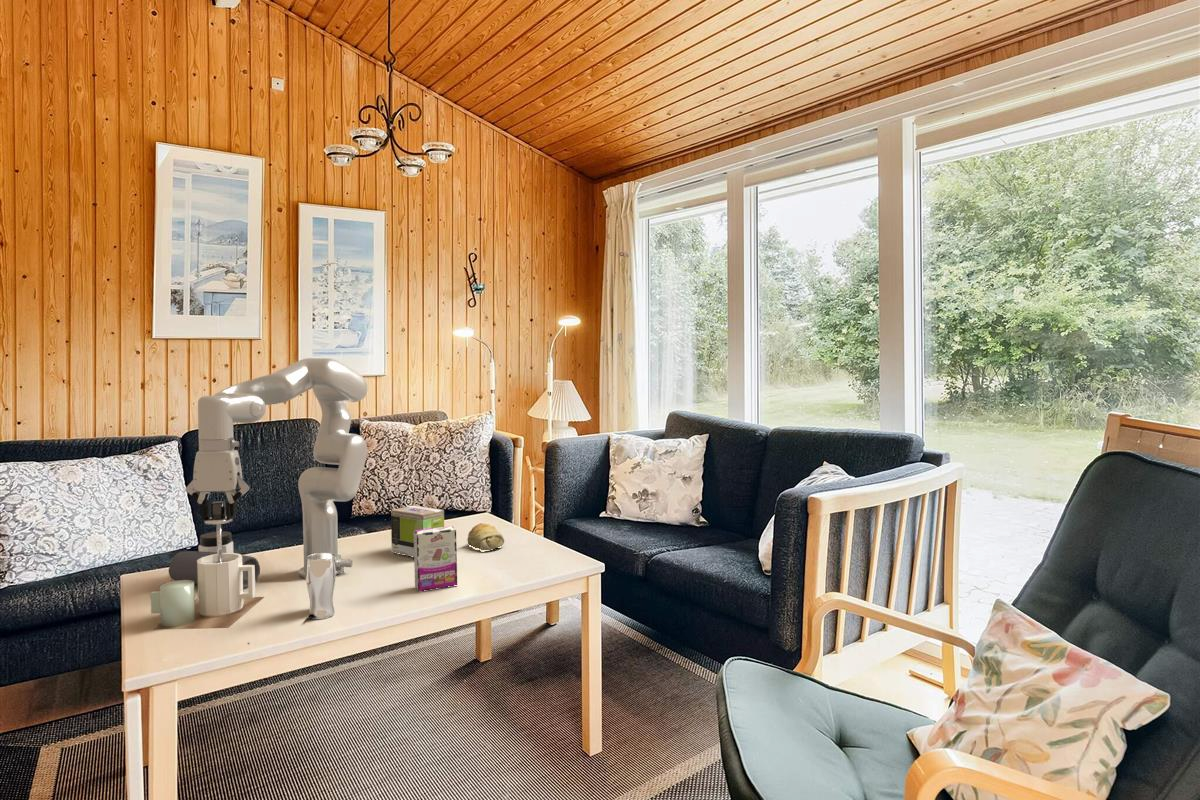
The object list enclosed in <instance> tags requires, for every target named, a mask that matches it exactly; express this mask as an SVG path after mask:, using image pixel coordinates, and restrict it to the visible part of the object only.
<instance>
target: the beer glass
mask: <svg viewBox="0 0 1200 800" xmlns="http://www.w3.org/2000/svg"><path fill="white" fill-rule="evenodd" d="M336 576H337V575H336V566H335V555H334V554H333V553H327V552H324V553H315V554H311V555H309V556H307V557H306V578H305V583H306V588H307V592H308V598H309V609H308V613H309V614H308V618H309V619H310V620H325V619H328V618H332V617H333V616H334V615H335V607H334V601H333V600H334V598H333V596H334V590H335V585H336V584H335V583H336Z"/></svg>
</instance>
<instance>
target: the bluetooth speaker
mask: <svg viewBox="0 0 1200 800" xmlns="http://www.w3.org/2000/svg"><path fill="white" fill-rule="evenodd" d="M214 554H217V552H202V551H199V550H198V551H194V550H187V551H186V550H185V551H179V552H177V553H175V555H174V556H172V559H171V560H170V563H169V567H168V576H169V578H170V579H171V580H172V581H178V580H191V581H194V586H198V581H197V560H198V559H200V558H202V557H205V556H209V555H214ZM241 555H242V554H241ZM242 565H255V583H256V582H257V580H258V579H259V577H260V573H261V567H260V563H259V560H257V558H256V557H253V556H251V555H242ZM243 589H248V571H243Z"/></svg>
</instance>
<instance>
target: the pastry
mask: <svg viewBox="0 0 1200 800" xmlns="http://www.w3.org/2000/svg"><path fill="white" fill-rule="evenodd" d="M466 541H467V545H468V544H469V545H471V546H473V547H475V548H479V549H481V550H491V549H495V548H498V547H500V546H502V545H503V546H504V544H505V538H504V536H503V534H502V533H501V532H499V530H498V529H497V528H496V527H495V526H493V525H491V524H489V523H478V524H477V525H475V526H473V527H472V528H471V530H470V531H469V532H468V535H467V540H466ZM469 545H468V546H469ZM495 550H496V549H495Z"/></svg>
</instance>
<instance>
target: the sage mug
mask: <svg viewBox="0 0 1200 800" xmlns="http://www.w3.org/2000/svg"><path fill="white" fill-rule="evenodd" d="M195 596H196V595H195V585H194V581H191V580H178V581H174V580H172V581H169V582H166V583H163V584H161V585H160V586H159V590H158V591H151V592H150V611H151V613H150V614H151V615H152V614H160V624H161V626H163V627H179V626H184V625H187V624H190V623H192V622H193V621H195V600H196V598H195Z"/></svg>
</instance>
